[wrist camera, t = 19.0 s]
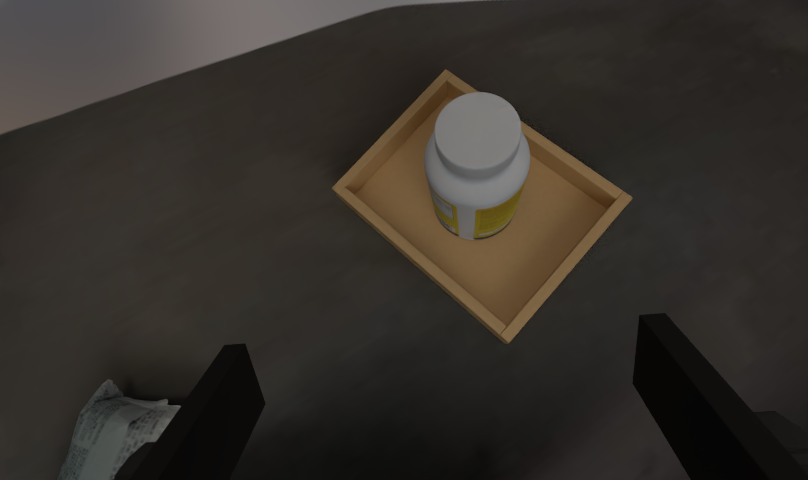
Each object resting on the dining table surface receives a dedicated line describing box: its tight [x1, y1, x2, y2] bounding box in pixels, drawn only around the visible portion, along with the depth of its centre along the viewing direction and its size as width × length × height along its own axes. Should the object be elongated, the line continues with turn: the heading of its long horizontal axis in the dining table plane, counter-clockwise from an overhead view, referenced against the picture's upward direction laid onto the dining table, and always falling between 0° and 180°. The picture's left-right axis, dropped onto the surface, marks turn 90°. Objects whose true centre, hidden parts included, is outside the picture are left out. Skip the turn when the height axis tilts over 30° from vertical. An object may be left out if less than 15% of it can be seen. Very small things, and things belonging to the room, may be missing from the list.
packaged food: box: [57, 379, 181, 480], centre depth 30 cm, size 9×12×5 cm
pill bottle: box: [424, 92, 530, 240], centre depth 29 cm, size 6×6×12 cm
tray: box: [332, 69, 632, 344], centre depth 33 cm, size 18×14×3 cm
